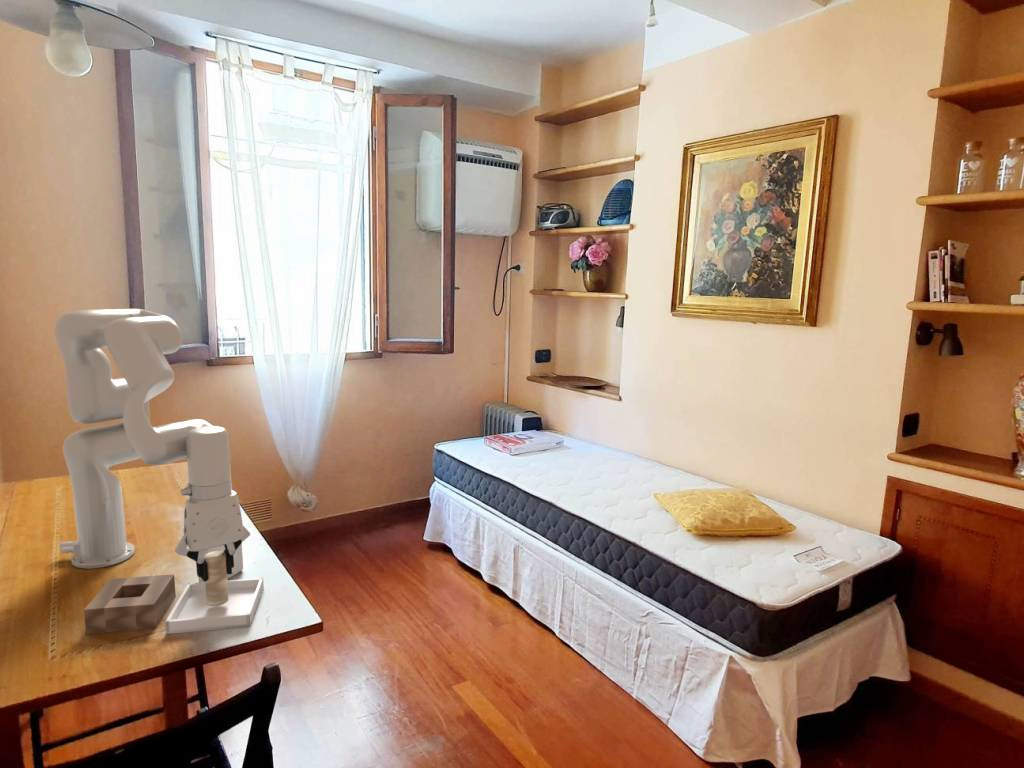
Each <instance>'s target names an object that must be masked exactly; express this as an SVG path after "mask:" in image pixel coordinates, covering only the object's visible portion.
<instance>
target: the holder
mask: <svg viewBox="0 0 1024 768" xmlns="http://www.w3.org/2000/svg"><path fill="white" fill-rule="evenodd" d="M175 581H176V580H175V574H164V575H163V574H160V575H147V576H133V577H132V576H131V577H130V576H129V577H118V578H116V577H115V578H110V579H109V580H108V581H107V582H106V583H105V585H103V587H102V588H101V589H100V590H99V592H98V593H97V594H96V595H95V596H94V597H93V599H91V601H90V602H89V603H88V604H87V605H86V606H85V608H84V609H83V615H84V623H85V625H84V626H85V632H86V633H85V634H86V635H91V634H100V633H101V634H102V633H110V632H111V633H112V632H124V631H125V632H126V631H136V630H149V629H156V628H158V626H159V624H160V623H161V621H162V619H163V617H164V616H165V614H166V612H167V611H168V610H169V608H170V606H171V605H172V603H173V601H174V600H175V598H176V597H177V596H176V583H175Z"/></svg>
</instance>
